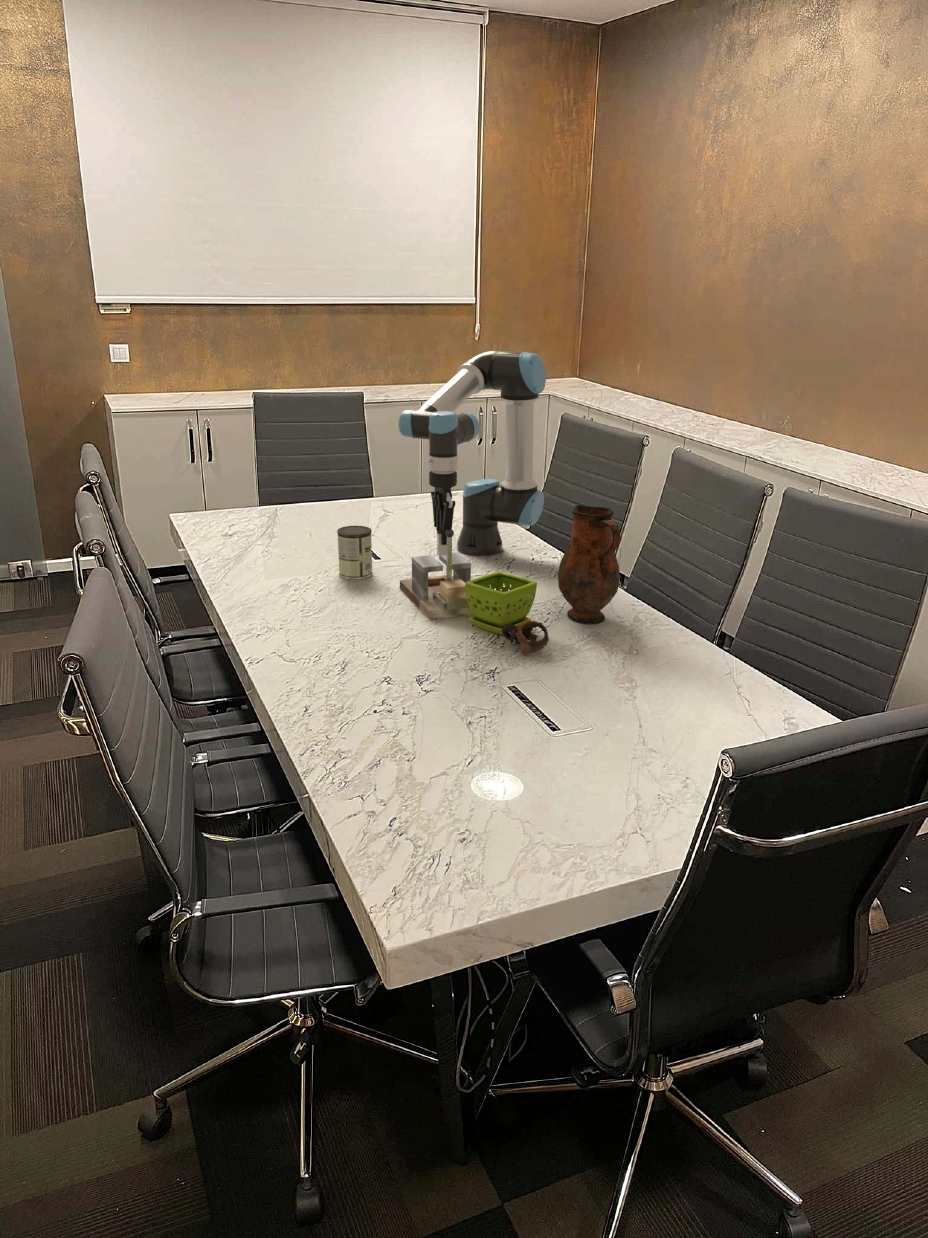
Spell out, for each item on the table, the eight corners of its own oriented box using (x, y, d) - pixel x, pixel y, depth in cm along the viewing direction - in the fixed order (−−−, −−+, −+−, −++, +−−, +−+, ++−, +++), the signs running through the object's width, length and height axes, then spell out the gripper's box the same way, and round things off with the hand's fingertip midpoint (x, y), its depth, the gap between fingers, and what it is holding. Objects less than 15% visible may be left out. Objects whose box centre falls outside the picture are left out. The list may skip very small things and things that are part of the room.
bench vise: (451, 582, 277) (451, 544, 272) (484, 613, 253) (485, 571, 249) (399, 588, 271) (399, 548, 267) (429, 619, 248) (429, 577, 244)
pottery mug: (546, 643, 236) (554, 623, 229) (538, 671, 230) (546, 651, 223) (502, 628, 236) (508, 608, 230) (492, 656, 230) (499, 635, 224)
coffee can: (342, 568, 288) (341, 524, 283) (375, 570, 287) (374, 526, 282) (335, 579, 278) (333, 533, 273) (368, 580, 277) (367, 535, 272)
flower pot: (537, 626, 245) (539, 581, 240) (502, 641, 235) (504, 594, 230) (497, 613, 253) (498, 569, 249) (462, 626, 244) (463, 581, 239)
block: (460, 599, 256) (460, 579, 254) (468, 606, 251) (468, 585, 248) (440, 602, 254) (440, 581, 252) (447, 609, 249) (447, 588, 246)
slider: (462, 595, 258) (463, 526, 251) (475, 606, 250) (476, 535, 243) (431, 598, 255) (432, 528, 248) (443, 610, 247) (444, 538, 240)
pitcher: (596, 603, 262) (603, 499, 251) (637, 629, 244) (646, 518, 233) (543, 610, 256) (549, 504, 245) (581, 637, 238) (589, 524, 227)
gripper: (421, 466, 253) (422, 549, 261) (438, 476, 241) (437, 563, 250) (447, 465, 255) (447, 547, 264) (464, 474, 244) (463, 560, 253)
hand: (442, 554), depth 257 cm, fingers closed
